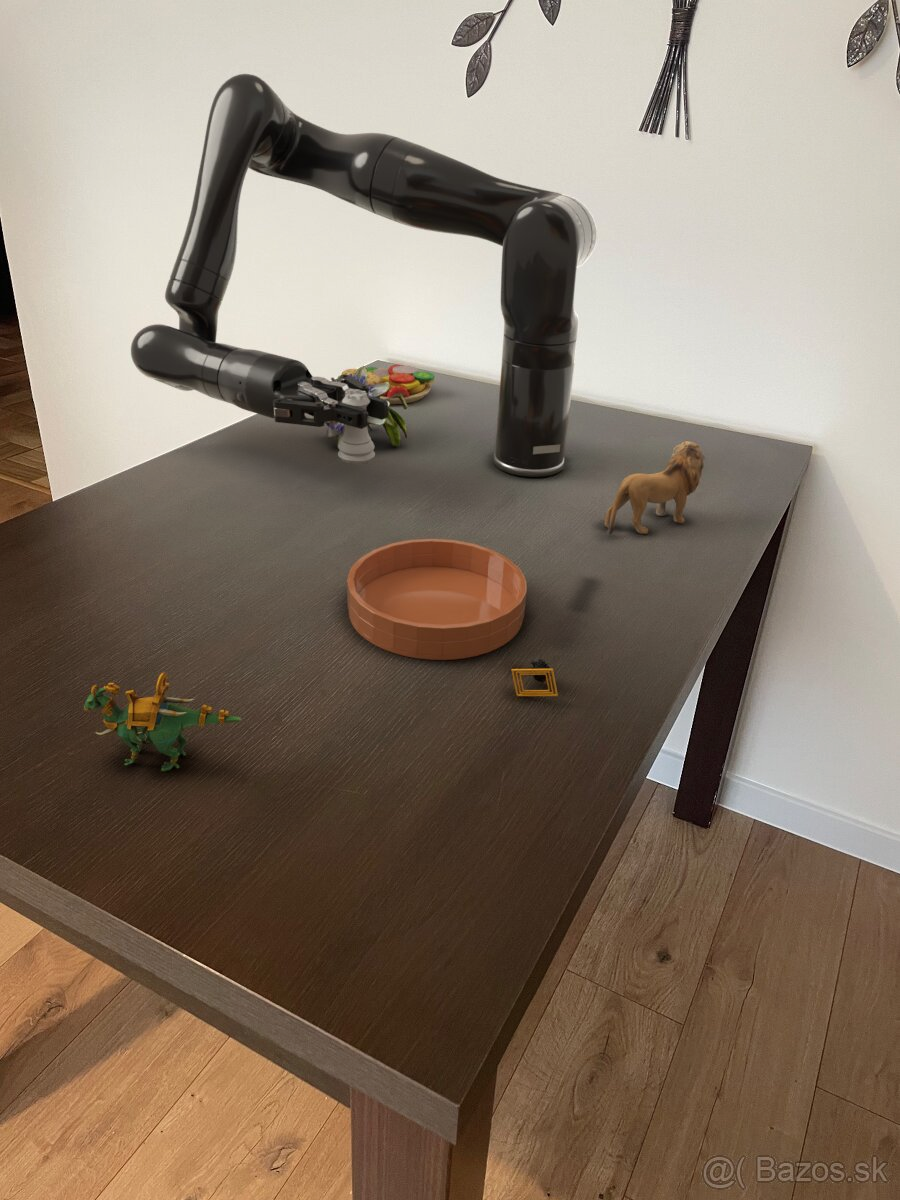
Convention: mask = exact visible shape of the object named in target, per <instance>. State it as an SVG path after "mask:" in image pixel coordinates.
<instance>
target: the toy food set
mask: <svg viewBox="0 0 900 1200" xmlns="http://www.w3.org/2000/svg"><path fill="white" fill-rule="evenodd" d="M365 368H366V369H367V380H366V381H367V382H368V383H367V382H366V383H367V385H369V384H370V385H375V384H378V383H385V382H388V383H389V385H390V386H389V389H388V391H386V392H385V393H384V394H382V395H381V396H380V398H381V399H383V400H384V399H387V398H389V397H392V396H394V395H397V394H400V393H401V394H402V397H403V398H404V400H405V402H406V404H409V403H414V402H417V401H419V400H421V399H423V398H424V397H425V396H426V395H428V393H429V392H430V391H431V383H433V382H435V381H436V378H435V377H436V376H435V374H434V373H432V372H430V371H425V370H424V371H423V370H422V371H421V370H420V371H419V370H418V368H417V367H415V366H411V365H403V364H393V365H391V366H389V367H376V366H369V367H365ZM358 369H359V368H347V369H345V370H343V371H342V372H341V374H340V375H343V374H346V375H349V374H352V376H353V375H354V374H355V373H356V372H357V370H358ZM370 385H369V386H370ZM398 396H399V395H398ZM398 396H395V397H393V398H390V399H388V400H386V401H388V402H389V403H390V405H403V403H402V402H401V400H400V399H399V398H398Z"/></svg>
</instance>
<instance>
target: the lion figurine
mask: <svg viewBox="0 0 900 1200" xmlns="http://www.w3.org/2000/svg"><path fill="white" fill-rule="evenodd" d="M672 450H673V452H672V454H671V457H670V458H669V461H668V464H667V466H666V468H665V469H664V470H662V471H660V472H656V473H650V474H648V473H642V472H641V473H638V472H637V473H633V474H629V475H628V476H626V477H624V479H623V480H622V481H621V483H620V485H619V489H618V490H617V493H616V495H615V497H614V501H613V503H612V505H610V507H608V509H607V510H606V513H605V518H604V527H606V528H607V530H606V531H605V533H606V535H611V534H612V533H613V531H614V529H615V526H616V523H615V522H616V517H617V512H618V511H619V510H620V509H622V507H624V506H625V505H626V504H627V503H628V502H630V505H631V509H632V518H631V524H632V525H633V526H634V528H635V531H636V532H637V533H638V534H641V535H648V532H649V529H648V528H647V526H644V525H642V523H641V521H642V517H643V514H644V512H645V510H646V508H647V506H648V503H650V504H657V506H656V509H655V514H656V515H657V516H659V517H664V516H666V515H667V511H666V507H667V505H666V504H667V502H669V501H672V500H674V502H675V509H674V512H673V515H672V516H673V521H674V522H675V523H678V524H684V523H685V518H684V517H683V516H682V514H683V512H684V509H685V506H686V504H687V501H688V500H687V499H688V498H687V497H688V496H690V495H691V494H693V492H694V493H695V491H696V489H697V487H698V486H699V484H700V480H701V478H702V474H703V469H704V467H705V458H706V456H705V454H704V452H703V450H702V448H701V446H700V445H699V444H697V443H696V442H692V441H689V440H686V441H683V442H681V444H676V446H674V447H673V449H672Z"/></svg>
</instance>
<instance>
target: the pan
mask: <svg viewBox="0 0 900 1200" xmlns="http://www.w3.org/2000/svg"><path fill="white" fill-rule="evenodd" d="M346 588H347V589H346V591H347V593H346V594H347V596H346V597H347V610H348V611H347V612H348V618H349V621H350V623H351V625H352V626H353V628H354V629H355V631H356V632H357V633H358V634H359V635H360V636H361V637H362V638H363V639H364V640H366V641H368V642H369V643H371V644H372V645H374V646H376V647H379V648H380V649H382V650H384V651H387V652H390V653H392V654H395V655H400V656H403V657H408V658H413V659H420V660H428V661H451V660H454V661H455V660H462V659H467V658H473V657H478V656H480V655H484V654H488V653H490V652H492V651H495V650H497V649H499V648H500V647H503V646H505V645H507V643H509V642H510V641H511V640H512V639H513V638H515V636H517V634H518V633H519V631H520V629H521V628H522V625H523V622H524V619H525V612H526V602H527V591H528V590H527V579H526V577H525V575H524V574H523V572H522V570H521V568H520V567H519V566H517V564H515V563H514V561H512V560H511V559H509V558H508V557H507V556H505V555H503V554H502V553H500V552H498V551H495V550H494V549H491V548H489V547H485V546H482V545H479V544H476V543H471V542H466V541H461V540H456V539H444V538H421V539H420V538H419V539H408V540H402V541H397V542H392V543H389V544H386V545H383V546H380V547H378V548H375V549H372V550H371V551H369V552H368V553H365V554H364V555H363V556H361V557H360V558H359V559H357V560H356V562H355V563H354V564H353V565H352V567H351V568H350V569H349V572H348V576H347V579H346Z"/></svg>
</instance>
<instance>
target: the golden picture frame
mask: <svg viewBox="0 0 900 1200" xmlns="http://www.w3.org/2000/svg"><path fill="white" fill-rule="evenodd" d="M529 665H531V666H529V667H528V668H511V675H512V680H513V684H514V690H515V694H516V697H558V696H559V694H558V689H557V683H556V677H555V673H554V668H551V667H550V666H549V665H551V662H548V663H547V662H546V660H544V658H543V659H542V658H538V659H537V660H533V659H532V660H531V661H530V663H529ZM518 674H519V675H518ZM522 676H528V677H532V679H533V680H534V681H535V682H537V683H538V684H541V685H544V684H546V685H547V689H539V690H538V689H529V690H528V689H524V685H523V679H522ZM552 681H553V682H552ZM553 687H554V688H553Z"/></svg>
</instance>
